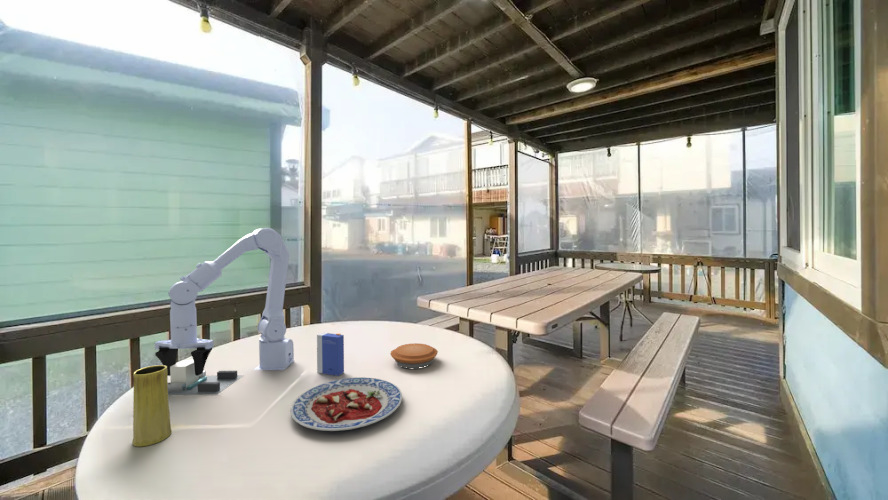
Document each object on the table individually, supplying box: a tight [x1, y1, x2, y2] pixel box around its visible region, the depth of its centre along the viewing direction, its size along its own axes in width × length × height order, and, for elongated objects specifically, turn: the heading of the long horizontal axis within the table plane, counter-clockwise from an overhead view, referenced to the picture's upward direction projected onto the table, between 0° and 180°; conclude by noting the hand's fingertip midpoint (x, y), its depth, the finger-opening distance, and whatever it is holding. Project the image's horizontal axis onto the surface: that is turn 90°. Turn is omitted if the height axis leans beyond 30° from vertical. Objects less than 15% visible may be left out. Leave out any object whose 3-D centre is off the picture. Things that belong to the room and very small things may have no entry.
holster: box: [198, 370, 238, 392], centre depth 93 cm, size 5×9×2 cm, turn 1°
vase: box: [131, 364, 172, 448], centre depth 69 cm, size 6×6×14 cm
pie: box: [389, 342, 439, 368], centre depth 111 cm, size 15×16×5 cm
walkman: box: [316, 332, 345, 377], centre depth 102 cm, size 8×3×12 cm, turn 70°
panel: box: [168, 374, 244, 396], centre depth 93 cm, size 16×12×1 cm
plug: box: [169, 359, 199, 388], centre depth 93 cm, size 4×5×6 cm
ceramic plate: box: [290, 376, 403, 432], centre depth 82 cm, size 26×26×3 cm
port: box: [168, 370, 207, 392], centre depth 93 cm, size 7×9×2 cm
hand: (185, 374), depth 93 cm, fingers open, 7 cm apart
